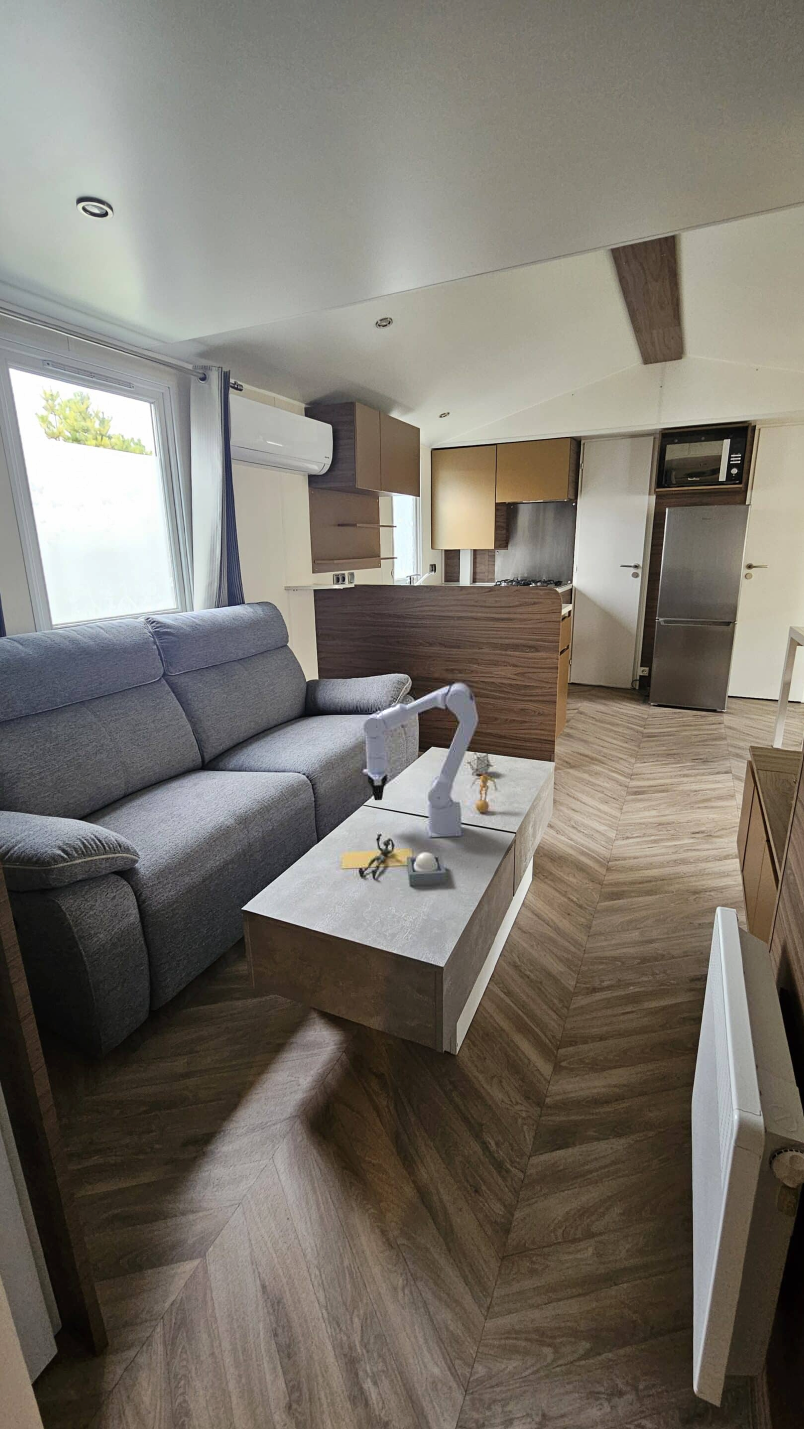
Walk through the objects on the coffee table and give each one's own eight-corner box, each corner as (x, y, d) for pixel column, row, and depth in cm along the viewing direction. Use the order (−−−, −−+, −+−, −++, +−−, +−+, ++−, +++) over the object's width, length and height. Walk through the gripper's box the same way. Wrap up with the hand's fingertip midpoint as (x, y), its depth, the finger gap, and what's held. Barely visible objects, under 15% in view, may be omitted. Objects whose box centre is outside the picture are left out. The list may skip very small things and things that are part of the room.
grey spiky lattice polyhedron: (475, 783, 227) (464, 758, 230) (496, 774, 227) (485, 749, 230) (474, 779, 219) (463, 754, 221) (496, 770, 218) (485, 744, 221)
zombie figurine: (357, 851, 155) (380, 828, 169) (358, 876, 157) (381, 850, 170) (376, 854, 153) (398, 830, 167) (378, 879, 155) (399, 853, 168)
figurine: (467, 812, 193) (467, 776, 190) (473, 805, 198) (473, 770, 195) (493, 816, 190) (494, 779, 187) (498, 808, 195) (499, 773, 192)
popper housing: (441, 866, 161) (441, 855, 160) (445, 884, 152) (445, 872, 151) (407, 868, 160) (406, 857, 160) (409, 886, 152) (409, 874, 151)
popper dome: (436, 865, 159) (436, 847, 158) (439, 877, 153) (438, 858, 152) (413, 867, 159) (412, 848, 157) (415, 879, 153) (414, 860, 152)
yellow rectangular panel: (411, 849, 171) (411, 848, 171) (414, 865, 162) (414, 864, 162) (342, 852, 170) (342, 852, 170) (341, 869, 161) (341, 868, 161)
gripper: (362, 748, 185) (364, 790, 188) (362, 764, 171) (364, 810, 174) (386, 747, 185) (387, 789, 188) (388, 763, 171) (389, 808, 174)
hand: (378, 799), depth 181 cm, fingers closed
